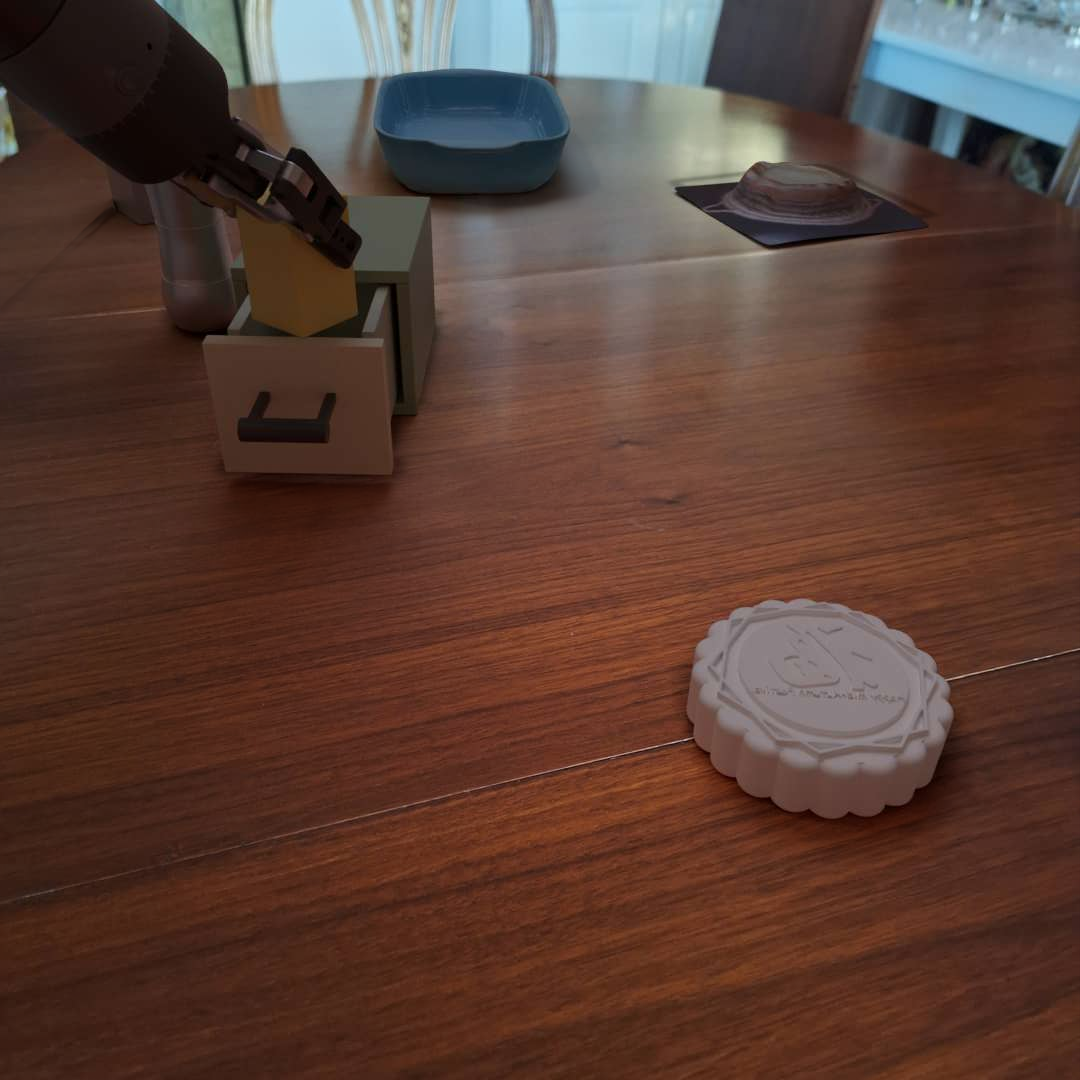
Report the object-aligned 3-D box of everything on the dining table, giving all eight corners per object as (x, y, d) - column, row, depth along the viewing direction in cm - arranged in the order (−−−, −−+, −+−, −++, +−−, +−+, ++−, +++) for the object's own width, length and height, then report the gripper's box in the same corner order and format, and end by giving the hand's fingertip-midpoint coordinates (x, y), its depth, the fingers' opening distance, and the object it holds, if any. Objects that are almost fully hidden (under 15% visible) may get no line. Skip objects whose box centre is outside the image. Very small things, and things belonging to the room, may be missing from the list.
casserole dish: (579, 207, 113) (582, 139, 109) (374, 209, 112) (368, 140, 107) (546, 122, 143) (547, 66, 139) (384, 123, 141) (380, 66, 137)
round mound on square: (767, 249, 104) (773, 209, 101) (670, 191, 119) (673, 155, 117) (933, 226, 111) (942, 188, 108) (821, 174, 126) (827, 140, 123)
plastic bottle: (242, 305, 90) (202, 55, 78) (254, 336, 85) (213, 74, 73) (165, 314, 88) (112, 60, 77) (172, 347, 83) (117, 79, 71)
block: (302, 339, 62) (287, 213, 57) (251, 319, 64) (233, 197, 60) (358, 315, 65) (347, 194, 60) (307, 297, 67) (293, 179, 63)
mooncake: (907, 648, 55) (923, 595, 53) (968, 831, 45) (991, 775, 43) (680, 635, 55) (687, 582, 53) (692, 813, 46) (701, 757, 44)
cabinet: (416, 415, 75) (408, 271, 68) (252, 412, 75) (229, 267, 68) (435, 325, 87) (430, 196, 81) (295, 322, 87) (279, 193, 81)
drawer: (381, 518, 62) (370, 384, 57) (204, 515, 62) (177, 381, 57) (414, 372, 78) (408, 257, 73) (274, 369, 78) (257, 254, 73)
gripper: (238, 8, 45) (436, 215, 60) (51, -24, 52) (270, 169, 67) (160, 160, 45) (379, 330, 60) (-18, 107, 52) (218, 272, 67)
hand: (320, 244), depth 63 cm, fingers closed on block, 4 cm apart
